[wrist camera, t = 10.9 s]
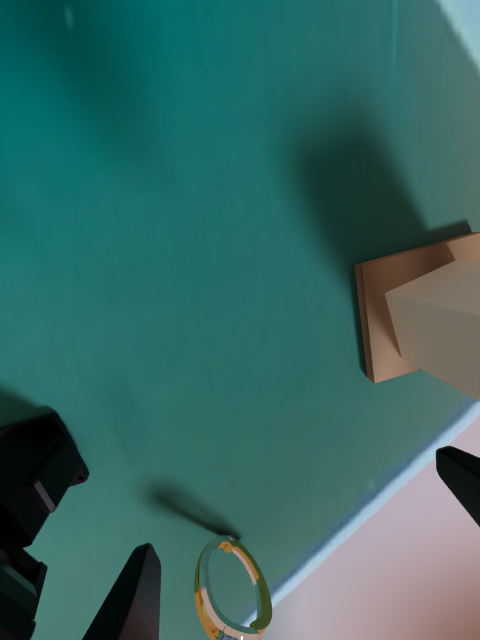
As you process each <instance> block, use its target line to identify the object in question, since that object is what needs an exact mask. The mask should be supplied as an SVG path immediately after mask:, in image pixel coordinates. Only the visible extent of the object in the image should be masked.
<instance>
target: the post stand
mask: <svg viewBox="0 0 480 640" xmlns="http://www.w3.org/2000/svg"><path fill="white" fill-rule="evenodd" d="M455 260H458V261H480V232H472V233H469V234H465V235H461V236H458V237H454V238H450V239H447V240H443V241H439V242H436V243H432V244H428V245H425V246H421V247H418V248H414V249H410V250H407V251H403V252H399V253H396V254H392V255H388V256H385V257H381V258H377V259H374V260H370V261H367V262H363V263H359V264H356V265H354V268H355V276H356V285H357V293H358V302H359V310H360V319H361V327H362V336H363V344H364V353H365V361H366V370H367V378H368V379H370V380H371V381H372V382H374V383H378V382H381V381H384V380H387V379H391V378H394V377H397V376H400V375H404V374H407V373H410V372H414V371H417V370H420V368H418V367H416V366H414V365H413V364H411V363H409V362H407V361H405V360H403V359H402V358H401V354H400V350H399V346H398V342H397V338H396V335H395V331H394V327H393V323H392V319H391V316H390V312H389V308H388V304H387V300H386V297H385V293H387V292H389V291H391V290H393V289H395V288H397V287H399V286H402V285H404V284H406V283H408V282H410V281H412V280H415V279H417V278H419V277H421V276H423V275H425V274H427V273H430V272H432V271H434V270H436V269H438V268H440V267H442V266H445V265H447V264H449V263H451V262H453V261H455Z"/></svg>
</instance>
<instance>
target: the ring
mask: <svg viewBox="0 0 480 640" xmlns="http://www.w3.org/2000/svg"><path fill="white" fill-rule="evenodd" d="M216 548H224V550H225V551H226V552H227V553H230V552H231V551H232V552H233V553H234V554H236V555H237V556H238V557H239V559H240V560H241V561H242V562H243V564H244V565H245V567H246V569H247V570H248V572H249V574H250V577H251V579H252V582H253V585H254V588H255V592H256V598H257V619H256V620H255V621H253V622H252V623H251V624H250V627H244V626H241V625H238V624H236V623H234V622H232V621H230V620H229V619H228V618H226V617H225V616H224V615H223V614H222V612H221V611H220V610H219V608H218V606H217V604H216V602H215V600H214V597H213V594H212V591H211V587H210V582H209V573H208V567H209V559H210V556H211V553H212V551H213V550H214V549H216ZM194 593H195V602H196V608H197V612H198V615H199V618H200V621H201V623H202V626H203V628H204V630H205V631H206V633H207V635H208V636H209V638H210V639H211V640H261V638H262V636H263V633H264V631H265V629H266V628H267V626H268V625H269V623H270V621H271V618H272V603H271V598H270V594H269V591H268V587H267V585H266V582H265V579H264V577H263V575H262V573H261V570H260V568H259V567H258V565H257V563H256V561H255V560H254V558H253V557H252V555H251V554H250V553H249V551H248V550H247V549H246V548H245V547H244V546H243V545H242V544H241V543H240V542H238V541H237V540H236V539H235V537H234V536H233V535H232V534H229V535H228V536H227V535H220V536H217V537H215V538H214V539H213V540H211V541H210V542H209V543H208V544H207V545H206V546H205V548H204V549H203V551H202V552H201V554H200V557H199V559H198V563H197V567H196V572H195V581H194Z"/></svg>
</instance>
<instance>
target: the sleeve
mask: <svg viewBox="0 0 480 640" xmlns="http://www.w3.org/2000/svg"><path fill="white" fill-rule="evenodd" d="M385 297H386V300H387V304H388V308H389V312H390V316H391V319H392V323H393V327H394V331H395V335H396V338H397V342H398V346H399V350H400V354H401V358H402V359H403V360H405V361H407V362H409V363H411V364H413V365H414V366H416V367H418V368H420V369H422V370H424V371H425V372H427V373H429V374H431V375H433V376H435V377H436V378H438V379H440V380H442V381H444V382H446V383H447V384H449V385H451V386H453V387H455V388H457V389H458V390H460V391H462V392H464V393H466V394H468V395H469V396H471V397H473V398H475V399H477V400H478V401H480V261H458V260H455V261H453V262H451V263H449V264H447V265H445V266H442V267H440V268H438V269H436V270H434V271H432V272H430V273H427V274H425V275H423V276H421V277H419V278H417V279H415V280H412V281H410V282H408V283H406V284H404V285H402V286H399V287H397V288H395V289H393V290H391V291H389V292H387V293H385Z"/></svg>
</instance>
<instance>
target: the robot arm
mask: <svg viewBox="0 0 480 640" xmlns="http://www.w3.org/2000/svg"><path fill="white" fill-rule="evenodd" d="M49 419H51V420H52V421H53V422H52V421H50V420H49ZM436 469H437V472H438V474H439V476H440V478H441V479H442V480H443V481H444V483H445V484H446V485H447V487H448V488H449V489H450V490H451V492H452V493H453V494H454V495H455V497H456V498H457V499H458V500H459V502H460V503H461V504H462V506H463V507H464V508H465V509H466V510H467V512H468V513H469V514H470V516H471V517H472V518H473V519H474V521H475V522H476V523H477V524H478V526H479V527H480V458H479V457H476V456H474V455H471V454H469V453H467V452H464V451H462V450H460V449H457V448H455V447H452V446H446V447H442V448H439V449H437V451H436ZM80 475H82V476H80ZM88 476H89V471H88V469H87V467H86V466H85V464H84V462H83V460H82V458H81V456H80V454H79V452H78V450H77V449H76V447H75V445H74V443H73V441H72V439H71V438H70V436H69V434H68V432H67V430H66V429H65V427H64V425H63V423H62V421H61V419H60V417H59V416H58V415H57V414H54V413H49V414H46V415H42V416H39V417H35V418H32V419H29V420H25V421H22V422H18V423H15V424H11V425H8V426H4V427H1V428H0V640H31V638H32V636H33V633H34V630H35V626H36V622H35V621H34V618H35V614H36V611H37V607H38V603H39V599H40V595H41V591H42V588H43V584H44V580H45V576H46V572H47V568H48V567H47V566H46V565H45V564H44V563H43V562H38V561H37V560H36V559H35V558H33V557H32V556H31V555H30V554H29V553H27V552H26V551H25V550H24V549H23V548H24V547H27V546H30V545H31V544H32V543H33V541H34V539H35V538H36V536H37V534H38V533H39V531H40V529H41V527H42V526H43V524H44V522H45V521H46V519H47V517H48V516H49V514H50V513H52V512H54V511H55V510H56V508H57V506H58V505H59V503H60V501H61V499H62V498H63V496H64V494H65V492H66V491H67V489H68V487H70V486H73V485H77V484H80V483H83V482H85V481H86V480H87V478H88ZM160 587H161V564H160V560H159V558H158V556H157V554H156V552H155V550H154V548H153V546H152V544H150V543H146V544H143V545H140V546H138V547H136V548H135V549H134V551H133V552H132V554H131V556H130V557H129V559H128V561H127V563H126V564H125V566H124V568H123V570H122V571H121V573H120V575H119V577H118V578H117V580H116V582H115V583H114V585H113V587H112V589H111V590H110V592H109V594H108V596H107V597H106V599H105V601H104V603H103V604H102V606H101V608H100V610H99V611H98V613H97V615H96V617H95V618H94V620H93V622H92V623H91V625H90V627H89V629H88V630H87V632H86V634H85V636H84V637H83V639H82V640H159V617H160Z"/></svg>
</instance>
